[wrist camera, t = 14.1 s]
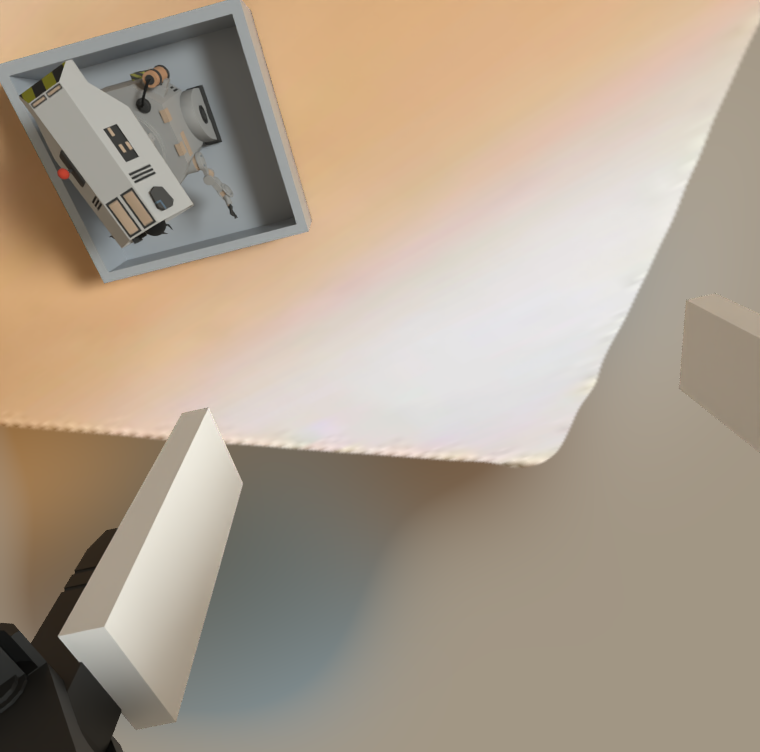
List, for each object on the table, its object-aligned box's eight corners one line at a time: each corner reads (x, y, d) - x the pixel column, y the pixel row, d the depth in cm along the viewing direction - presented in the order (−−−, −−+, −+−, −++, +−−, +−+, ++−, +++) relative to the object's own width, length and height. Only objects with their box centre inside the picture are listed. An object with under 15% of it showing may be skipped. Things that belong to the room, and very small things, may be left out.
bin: (31, 72, 40) (-8, 66, 35) (250, 10, 39) (238, -4, 35) (126, 268, 48) (104, 283, 43) (311, 220, 47) (308, 231, 42)
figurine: (154, 232, 46) (77, 279, 32) (92, 92, 40) (-31, 80, 27) (249, 207, 45) (209, 245, 32) (199, 63, 40) (126, 36, 26)
